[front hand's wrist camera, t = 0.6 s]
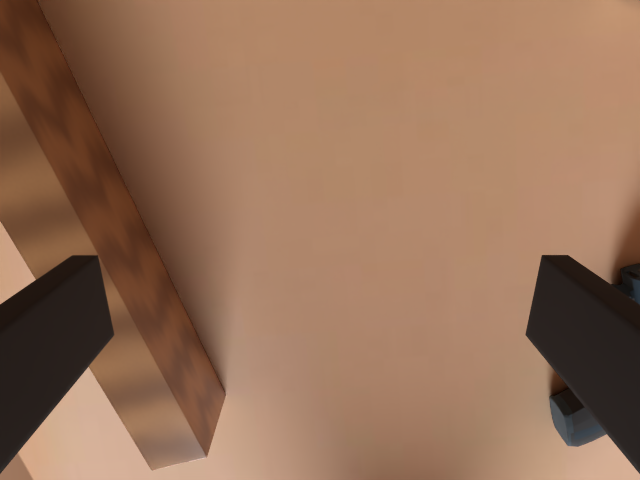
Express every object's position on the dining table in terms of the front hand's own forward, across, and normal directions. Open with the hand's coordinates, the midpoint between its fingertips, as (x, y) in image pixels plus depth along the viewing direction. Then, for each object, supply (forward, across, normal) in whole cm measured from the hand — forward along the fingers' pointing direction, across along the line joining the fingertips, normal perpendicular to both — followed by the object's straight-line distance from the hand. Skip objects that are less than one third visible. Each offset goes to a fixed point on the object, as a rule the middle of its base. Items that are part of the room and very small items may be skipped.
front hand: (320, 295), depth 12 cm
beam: (+24, -20, -2) cm, 32 cm away
